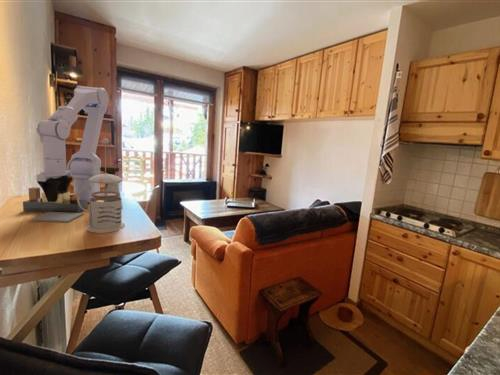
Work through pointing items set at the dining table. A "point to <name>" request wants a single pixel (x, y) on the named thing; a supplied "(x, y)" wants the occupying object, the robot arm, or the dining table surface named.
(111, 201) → the french press
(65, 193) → the beige block
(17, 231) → the dining table surface
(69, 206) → the plane body
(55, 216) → the mat
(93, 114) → the robot arm
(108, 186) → the salt shaker
